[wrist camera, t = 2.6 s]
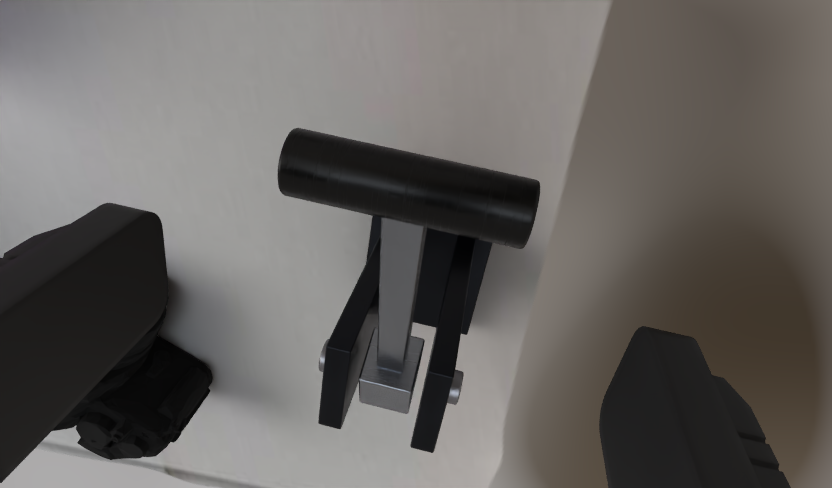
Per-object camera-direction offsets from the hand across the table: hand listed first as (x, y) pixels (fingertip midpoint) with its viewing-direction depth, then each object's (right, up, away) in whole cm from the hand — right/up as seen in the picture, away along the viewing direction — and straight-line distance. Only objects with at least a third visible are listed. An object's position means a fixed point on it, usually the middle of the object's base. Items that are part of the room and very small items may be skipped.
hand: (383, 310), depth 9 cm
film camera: (-20, -4, +30) cm, 36 cm away
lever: (0, 0, +10) cm, 10 cm away
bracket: (+1, +1, +23) cm, 23 cm away
